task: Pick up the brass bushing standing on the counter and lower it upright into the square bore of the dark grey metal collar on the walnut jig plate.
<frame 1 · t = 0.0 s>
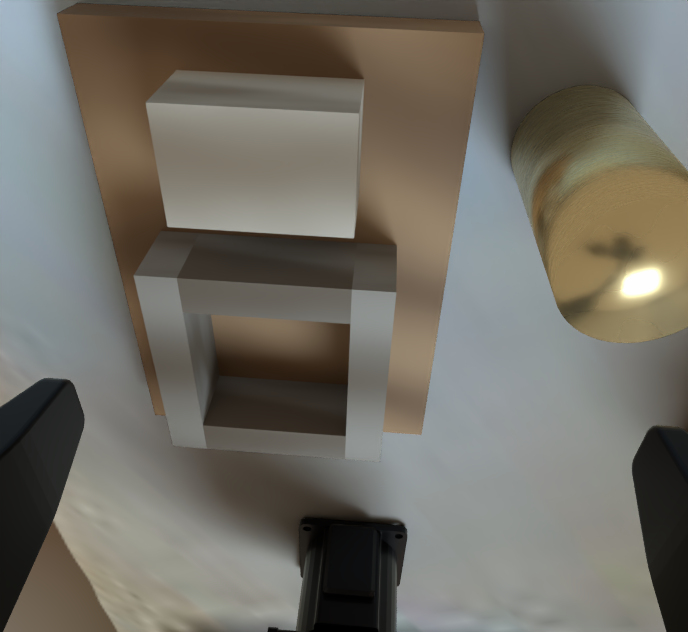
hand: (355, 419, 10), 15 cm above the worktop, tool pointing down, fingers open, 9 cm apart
bushing: (574, 148, 22), on the worktop
jig: (285, 250, 25), on the worktop
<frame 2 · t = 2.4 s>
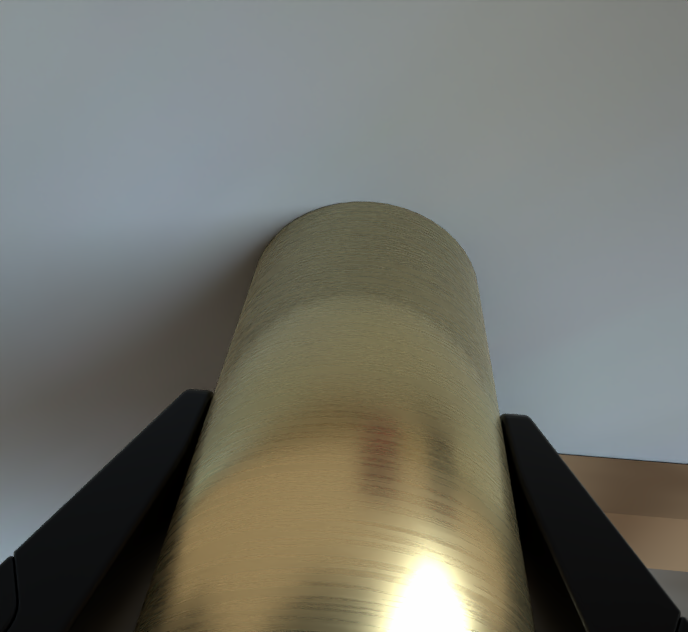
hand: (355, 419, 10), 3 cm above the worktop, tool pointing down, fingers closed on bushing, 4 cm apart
bushing: (364, 302, 12), on the worktop, touching gripper
jig: (511, 593, 18), on the worktop
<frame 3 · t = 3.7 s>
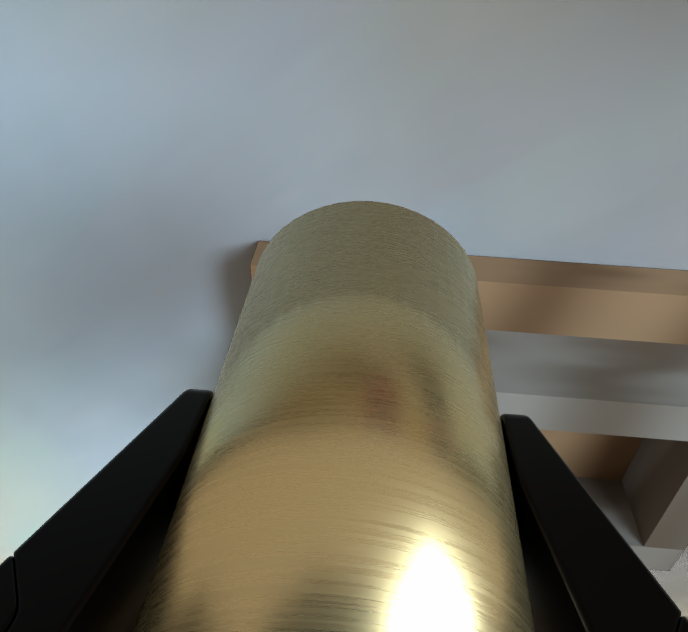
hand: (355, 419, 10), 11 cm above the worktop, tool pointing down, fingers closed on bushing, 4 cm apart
bushing: (364, 302, 12), point 8 cm above the worktop, touching gripper
jig: (485, 392, 25), on the worktop
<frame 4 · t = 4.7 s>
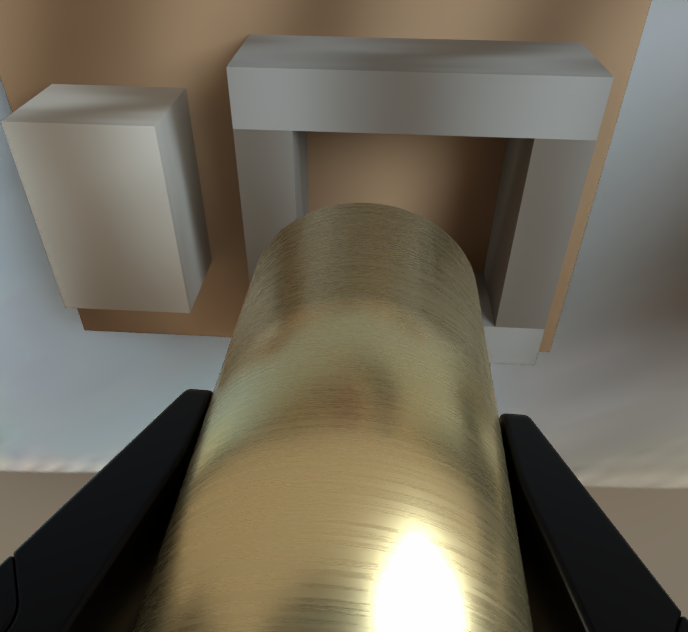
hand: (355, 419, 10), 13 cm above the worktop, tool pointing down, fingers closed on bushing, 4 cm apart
bushing: (363, 303, 12), point 10 cm above the worktop, touching gripper
jig: (313, 166, 21), on the worktop
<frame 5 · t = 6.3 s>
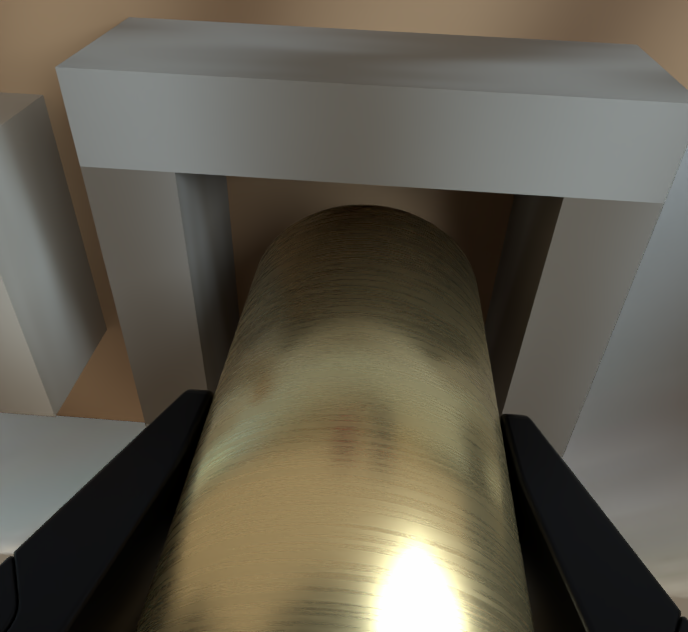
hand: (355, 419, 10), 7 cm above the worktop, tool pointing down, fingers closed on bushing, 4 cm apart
bushing: (364, 305, 12), point 4 cm above the worktop, touching gripper
jig: (245, 206, 15), on the worktop
when the fingers open (5 cm above the worktop, at t = 7.4 s): bushing stays where it is, resting on jig.
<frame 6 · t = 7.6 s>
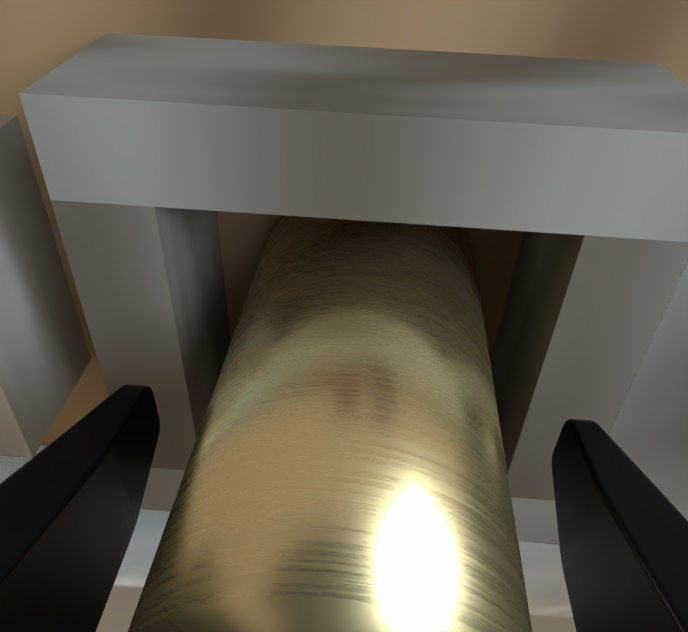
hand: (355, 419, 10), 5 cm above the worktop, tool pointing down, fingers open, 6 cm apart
bushing: (367, 277, 13), point 2 cm above the worktop, touching jig
jig: (237, 229, 14), on the worktop
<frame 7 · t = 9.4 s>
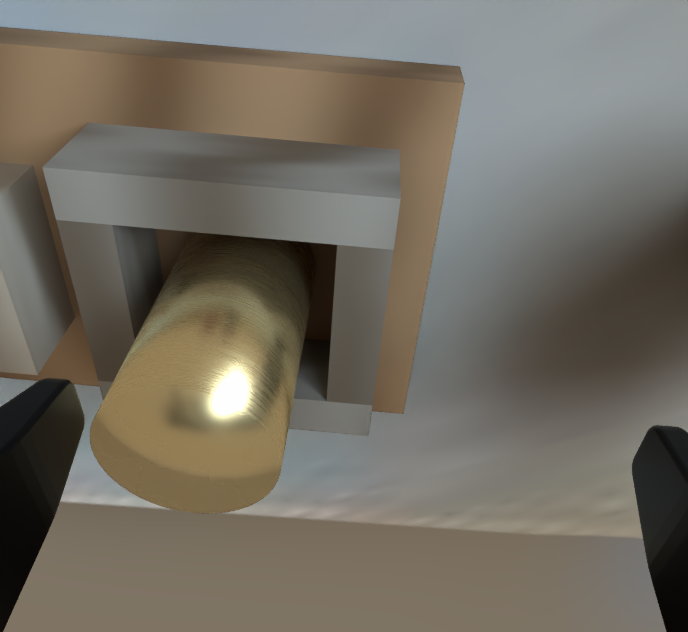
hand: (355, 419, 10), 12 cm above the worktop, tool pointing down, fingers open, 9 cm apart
bushing: (250, 266, 20), point 2 cm above the worktop, touching jig
jig: (172, 234, 22), on the worktop
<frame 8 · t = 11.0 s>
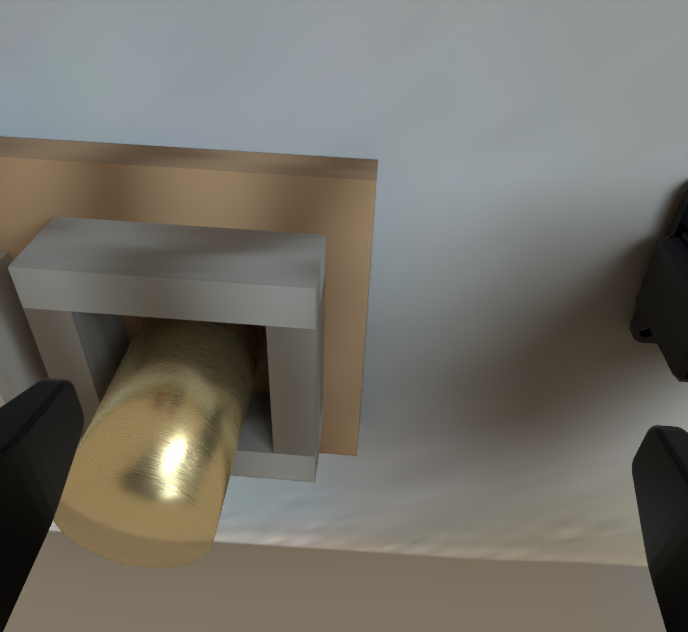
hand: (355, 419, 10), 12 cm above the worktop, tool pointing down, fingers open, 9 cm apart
bushing: (205, 332, 23), point 2 cm above the worktop, touching jig
jig: (138, 301, 24), on the worktop
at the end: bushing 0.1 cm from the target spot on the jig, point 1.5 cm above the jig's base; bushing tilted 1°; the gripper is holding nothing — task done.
